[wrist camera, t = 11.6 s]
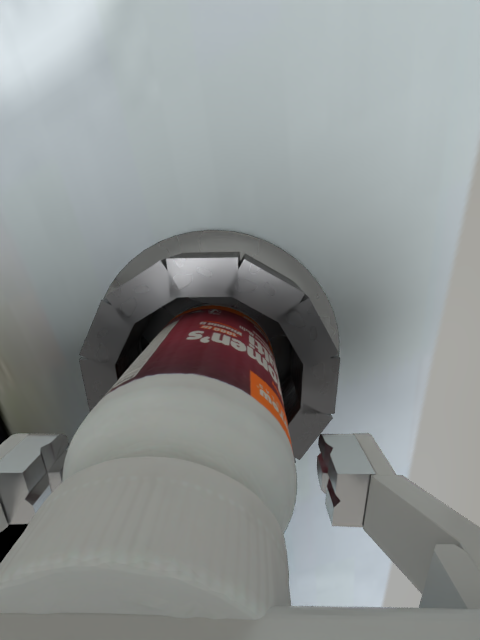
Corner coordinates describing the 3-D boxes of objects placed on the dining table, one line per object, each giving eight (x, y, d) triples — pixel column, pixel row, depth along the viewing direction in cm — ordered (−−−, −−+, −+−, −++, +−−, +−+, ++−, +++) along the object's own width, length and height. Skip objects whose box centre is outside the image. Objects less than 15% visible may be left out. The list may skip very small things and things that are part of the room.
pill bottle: (295, 339, 15) (433, 650, 4) (234, 423, 16) (208, 803, 5) (192, 277, 14) (-12, 450, 3) (138, 372, 15) (-116, 704, 5)
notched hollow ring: (324, 443, 18) (345, 501, 14) (122, 442, 18) (89, 499, 14) (344, 227, 14) (381, 226, 10) (85, 232, 14) (25, 233, 10)
